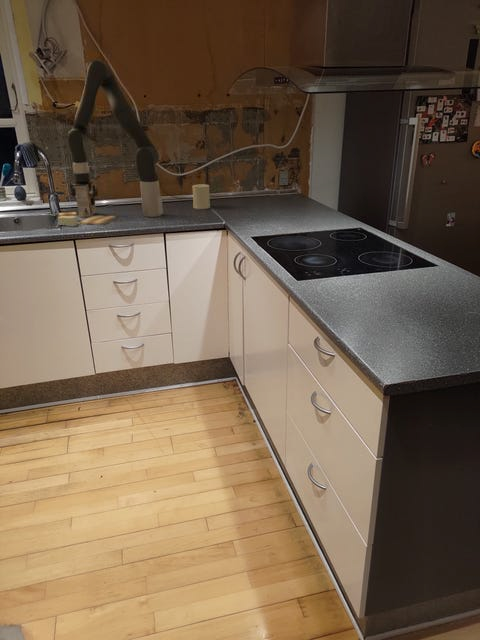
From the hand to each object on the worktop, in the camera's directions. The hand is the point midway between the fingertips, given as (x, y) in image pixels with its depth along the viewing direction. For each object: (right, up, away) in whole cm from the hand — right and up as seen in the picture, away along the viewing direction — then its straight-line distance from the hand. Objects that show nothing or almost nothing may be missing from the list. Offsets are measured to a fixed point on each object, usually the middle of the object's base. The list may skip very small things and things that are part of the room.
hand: (86, 204), depth 250 cm
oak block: (-6, -10, -10) cm, 15 cm away
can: (+58, +2, +15) cm, 60 cm away
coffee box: (0, -5, +2) cm, 5 cm away
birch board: (+9, -10, -11) cm, 18 cm away
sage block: (-3, -14, -17) cm, 22 cm away
